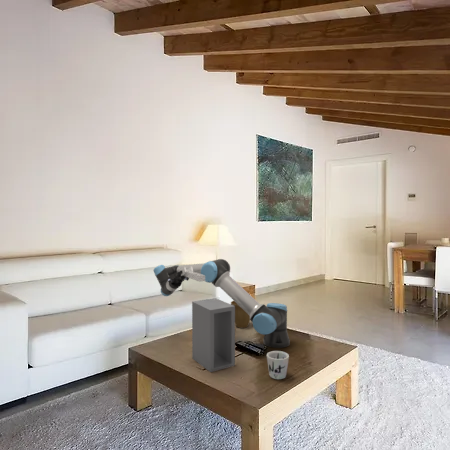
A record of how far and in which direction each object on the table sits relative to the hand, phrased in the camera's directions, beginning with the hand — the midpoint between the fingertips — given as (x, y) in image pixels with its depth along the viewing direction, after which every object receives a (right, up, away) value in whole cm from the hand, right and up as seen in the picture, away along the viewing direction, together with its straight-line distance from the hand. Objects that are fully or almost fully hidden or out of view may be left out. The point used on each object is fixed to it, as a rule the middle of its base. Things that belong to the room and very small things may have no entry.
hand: (188, 269), depth 214 cm
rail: (+2, -4, -3) cm, 5 cm away
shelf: (+15, -45, -21) cm, 52 cm away
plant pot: (+32, -42, +36) cm, 64 cm away
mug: (+46, -46, -35) cm, 74 cm away
